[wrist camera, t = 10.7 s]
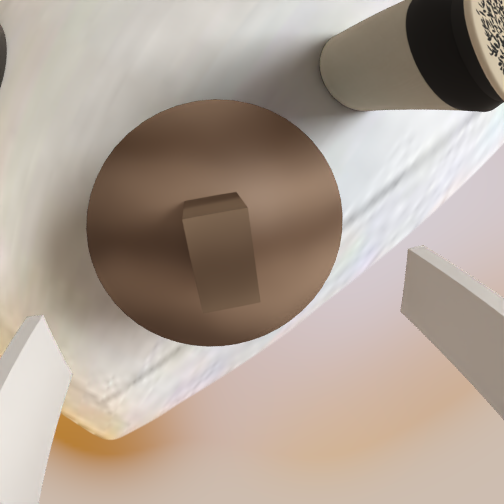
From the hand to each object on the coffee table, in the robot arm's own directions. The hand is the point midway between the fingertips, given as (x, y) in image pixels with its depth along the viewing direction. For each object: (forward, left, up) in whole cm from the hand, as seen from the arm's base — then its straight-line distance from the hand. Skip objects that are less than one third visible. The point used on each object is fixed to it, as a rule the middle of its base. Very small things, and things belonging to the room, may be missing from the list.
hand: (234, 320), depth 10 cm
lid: (0, 0, -11) cm, 11 cm away
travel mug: (-11, +15, -19) cm, 26 cm away
